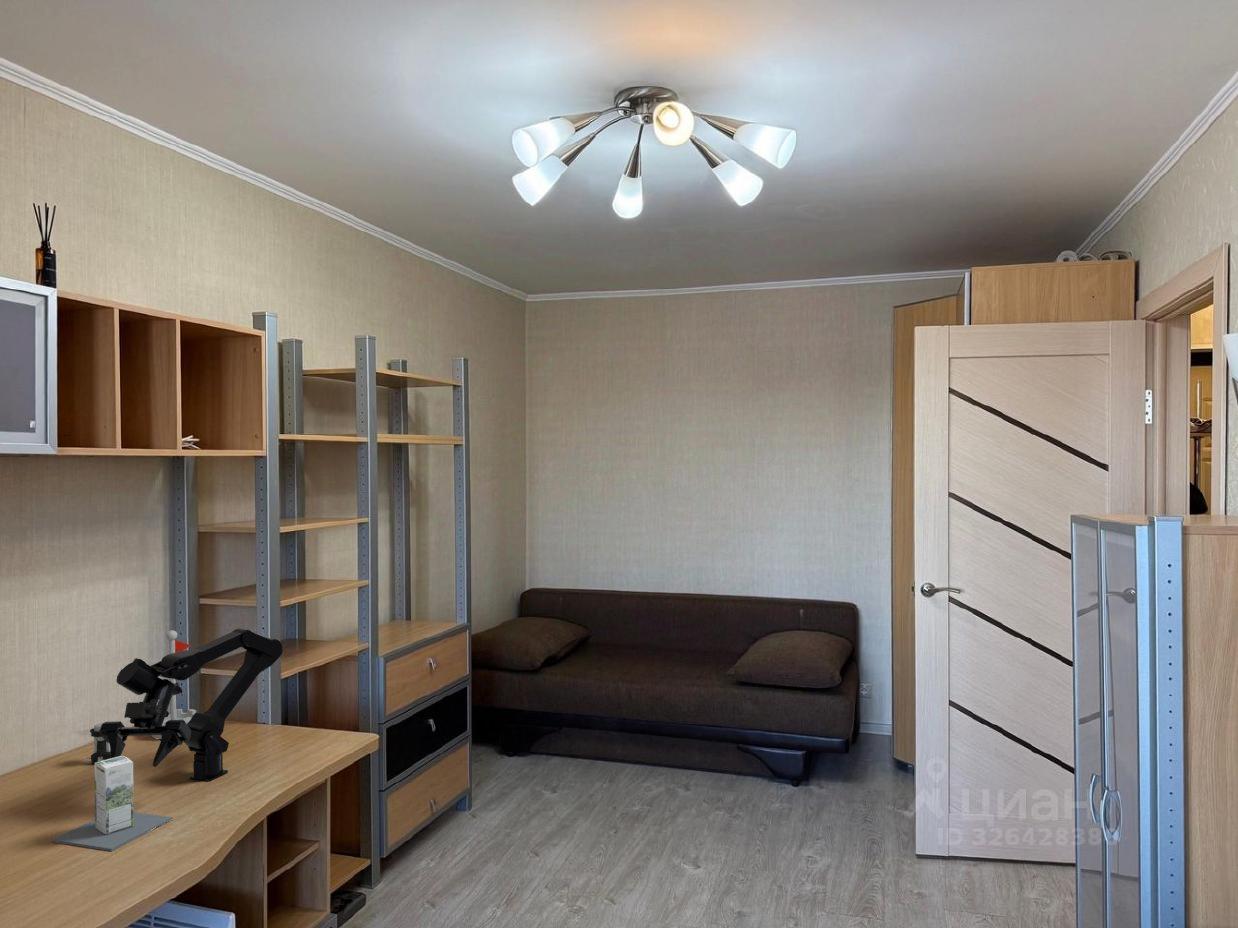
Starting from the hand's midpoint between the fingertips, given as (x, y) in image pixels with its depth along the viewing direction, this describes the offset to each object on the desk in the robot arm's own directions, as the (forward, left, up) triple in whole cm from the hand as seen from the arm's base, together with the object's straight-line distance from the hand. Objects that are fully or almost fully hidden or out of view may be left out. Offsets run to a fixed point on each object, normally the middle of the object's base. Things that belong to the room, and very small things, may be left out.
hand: (133, 766), depth 198 cm
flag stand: (-49, -36, -11) cm, 62 cm away
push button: (-24, -36, -11) cm, 45 cm away
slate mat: (+8, +3, -11) cm, 14 cm away
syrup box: (+8, +3, -10) cm, 13 cm away
